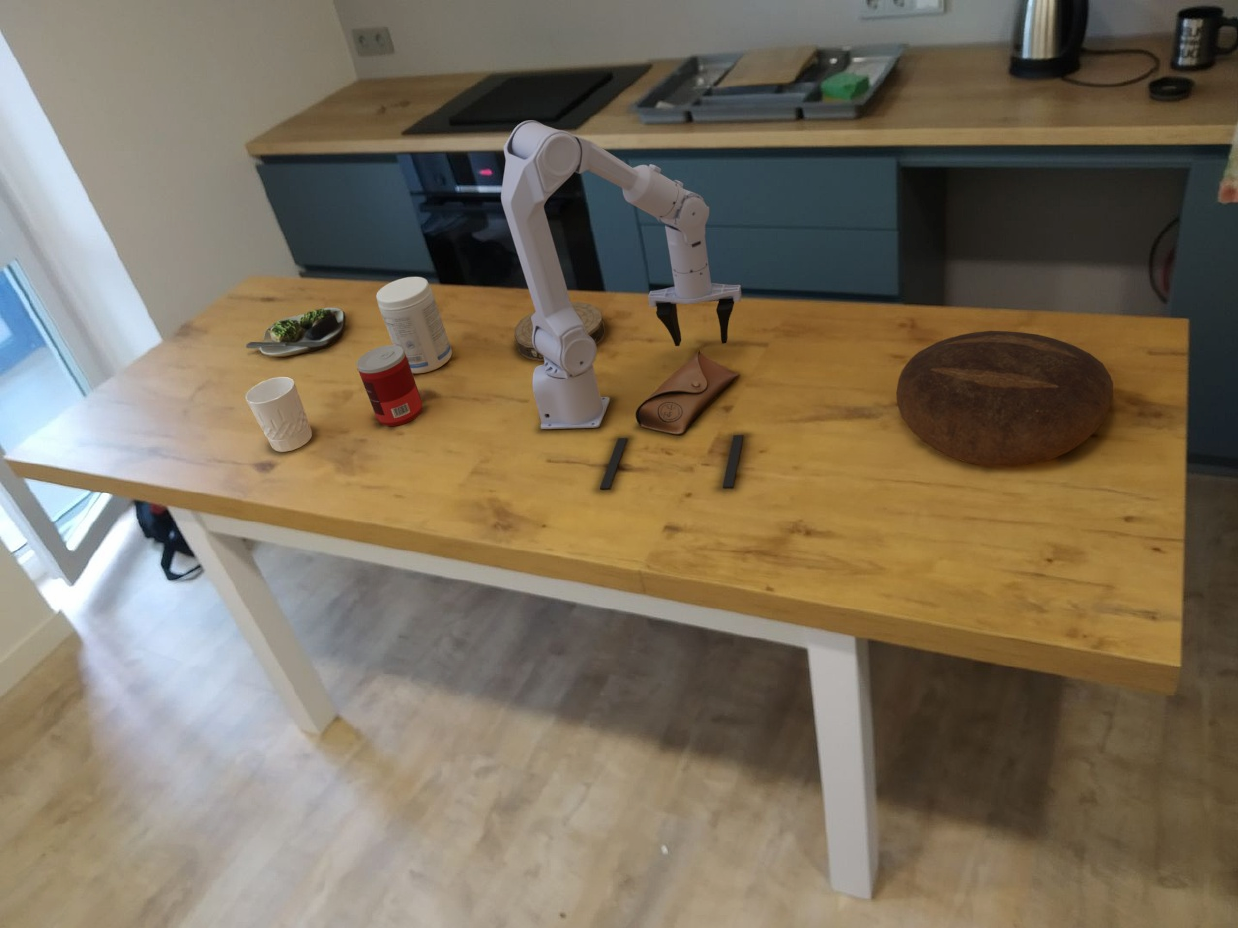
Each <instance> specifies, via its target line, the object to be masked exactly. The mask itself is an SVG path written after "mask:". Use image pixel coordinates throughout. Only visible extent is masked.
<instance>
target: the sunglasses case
mask: <svg viewBox="0 0 1238 928" xmlns="http://www.w3.org/2000/svg"><path fill="white" fill-rule="evenodd" d="M740 376H741V374H740V373H739V372H733V371H731V370H730V369H728V368H727V367H725V366H723V365H721V364H720V363H718V362H716V361H714V360H713V359H711V358H709V357H707V355H705V354H703V353H701V351H700V350H698V351H696V353H695V354H694V355H693V356H692V357H691V358H690V359H689V360H687V361H686V362H685V363H683V364H682V366H680V367H679V368H678V369H677V370H676V371H674V373H672V374H671V375H670V376H669V377H668V378H667V379H666V380H665V381H663V383H662V384H661V385H659V387H658V388H657V389H655V390H654V391H653V392H652V393H651V394H650V395H649V396H648V398H646V399H645V400H644V401H642V403H640V405H638V406H637V409H636V411H635V420H636V422H637V424H638V425H639V426H640V427H641V428H643V429H647V430H650V431H653V432H658V433H662V434H669V435H683V434H684V433H686V431H687V430H688V428H689V427H690V425H691V424H692V422H694V421H695V419H697V417H699V415H700V414H702V412H704V411H705V410H706V408H707V407H709V405H711V403H713V402H714V401H715V400H716V399H717V398H719V396H720V395H721V394H722V393H723V392H724V391H725V390H726V389H728V387H730V385H732V384H733V383H734V382H735V381H736V380H737V379H738V378H739V377H740Z"/></svg>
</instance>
